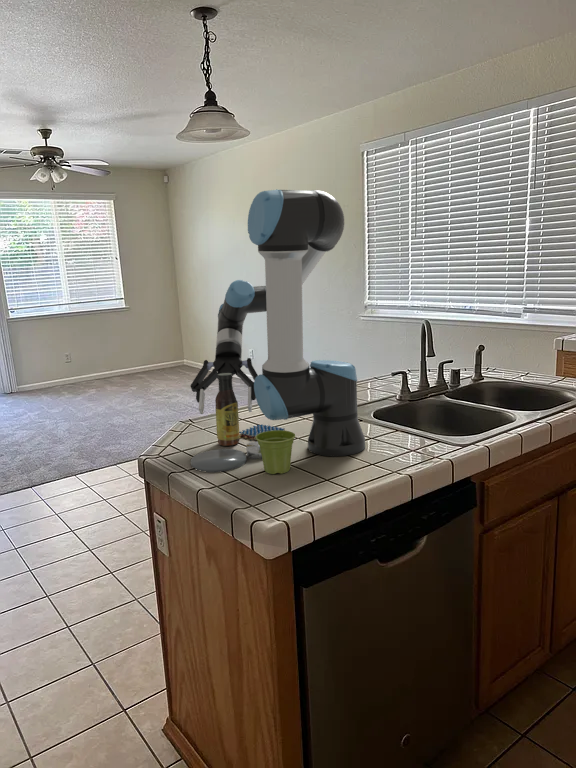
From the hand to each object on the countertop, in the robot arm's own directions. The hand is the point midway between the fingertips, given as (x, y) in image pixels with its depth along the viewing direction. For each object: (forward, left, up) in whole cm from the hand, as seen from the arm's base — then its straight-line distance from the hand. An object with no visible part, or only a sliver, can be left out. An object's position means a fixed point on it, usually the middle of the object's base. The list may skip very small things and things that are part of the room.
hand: (225, 410), depth 154 cm
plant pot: (-22, +12, -10) cm, 27 cm away
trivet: (-5, +12, -10) cm, 16 cm away
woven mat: (-4, -12, -11) cm, 17 cm away
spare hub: (-12, +4, -10) cm, 16 cm away
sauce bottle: (+1, -2, -10) cm, 11 cm away
